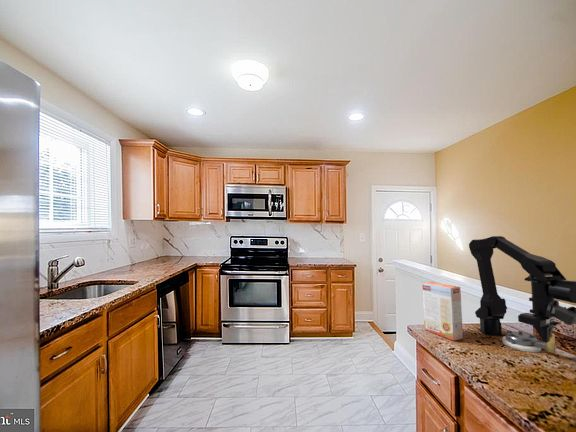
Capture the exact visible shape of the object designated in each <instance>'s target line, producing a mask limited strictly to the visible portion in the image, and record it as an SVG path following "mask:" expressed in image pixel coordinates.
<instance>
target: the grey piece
mask: <svg viewBox="0 0 576 432" xmlns="http://www.w3.org/2000/svg"><path fill="white" fill-rule="evenodd" d="M505 336H506V340H507V341H509V342H511V343H514V344H518V345H522V346H537V347H540V348H541V349H543V350H545V351H546V352H549V353H551V354H553V353H554V354H555V353H557V352H556V350H557V349H556V337H555V333H553V332H551V335H550V338H549V341H548V343H546V342H545V343H544V342H539V341H538V338H537V337H536V335H535V334H533V333H527V332H523V330H519V329H518V330H517V331H514V330H513V331H512V330H510V329H508V330H506V332H505Z"/></svg>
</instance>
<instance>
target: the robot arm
mask: <svg viewBox="0 0 576 432" xmlns="http://www.w3.org/2000/svg"><path fill="white" fill-rule="evenodd" d="M468 247H469V251H470V254H471V255H472V256H473V258H474V259H475V260H476V263H477V269H478V274H479V279H480V280H479V281H480V285H481V291H482V296H481V297H480V302H479V303H480V307H479V308H478V309H476V310H475V312H474V314H475V317H476V318H477V319H479V326H480V327H479V328H478V329H477V330H478V331H479V332H481V333H482V334H484V335H485V336H494V337H495V336H498V337H499V336H501V337H504V334H503V330H502V329H503V327H502V322H501V320H504V318H505V315H506V314H507V310H508V307H507V303H506V301H507V300H506V299H505V298H502V297H501V296H500V295H499V294H498V290H497V285H496V279H495V274H494V269H493V265H492V260H491V259H492V257H493V255H494V249H498V250H499V251H501V252H502V253H504V254H505V255H507V256H509V257H510V258H512V259H513V260H515V261H516V262H518V263H519V264H520V266H521V268H522V269H523V270H524V271H525V272H526V273H528V274H529V275H528V276H527V277H525V278H524V281H525V282H530V284H531V285H530V286H531V297H529V298H528V301H529V302H531V304H532V305H531V306H532V309H529V312H522V313H520V314H518V316H517V319H518V322H519V323H523V324H526V325H530V326H533V327H534V329H535V331H536V332H537V335H539V337H540V338H541V341H542V343H545V344H546V343H548V341H549V338H550V335H551V333H553V329H554V328H555V327H556V326H559V325H560V324H561V322H563V324H565V325H568V326H572V325H576V307H575V306H569V307H568V308H567V307H566V306H562V305H560V302H559V301H563V302H567V303H571V304H576V280H567V278H566V277H565V276H564V275H563V273H562V272H561V271H560V270H559V268H558V267H557V265H556V263H555V262H554V261H553V260H551V259H548V258H546V257H543V256H542V255H541V256H540V255H537V254H536V255H535V254H532V253H531V252H529V251H527V250H525V249H524V248H521V247H520V246H518V245H517V244H515V243H513V242H512V241H510V240H508V239H506V238H505V236H502V235H494V236H490V237H486V238H482V239H472V240H470V242H469V243H468ZM556 319H557V320H559V321H561V322H559V321H556Z"/></svg>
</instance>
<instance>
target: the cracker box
mask: <svg viewBox="0 0 576 432" xmlns="http://www.w3.org/2000/svg"><path fill="white" fill-rule="evenodd" d="M461 293H462V292H461V287H460V286H456V285H451V284H447V283H442V282H441V283H440V282H435V281H425V282H422V302H423V305H422V306H423V326H424V331H427V332H429V333H432V334H434V335H437V336H440V337H442V338H445V339H448V340H449V341H453V342H454V341H460V340H463V339H464V330H463V329H464V328H463V312H462V296H461V295H462V294H461Z"/></svg>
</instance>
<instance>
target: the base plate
mask: <svg viewBox="0 0 576 432" xmlns="http://www.w3.org/2000/svg"><path fill="white" fill-rule="evenodd" d="M501 339H502V344H503V345H504V346H506V347H508V348H511V349H513V350H516V351H521V352H526V353H527V352H528V353H539V352H541V351H542V348H540V347H537V346H522V345H518V344H514V343H511V342H509V341H507V340H506V335H505V336H504V335H503V336H502V338H501Z"/></svg>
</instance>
